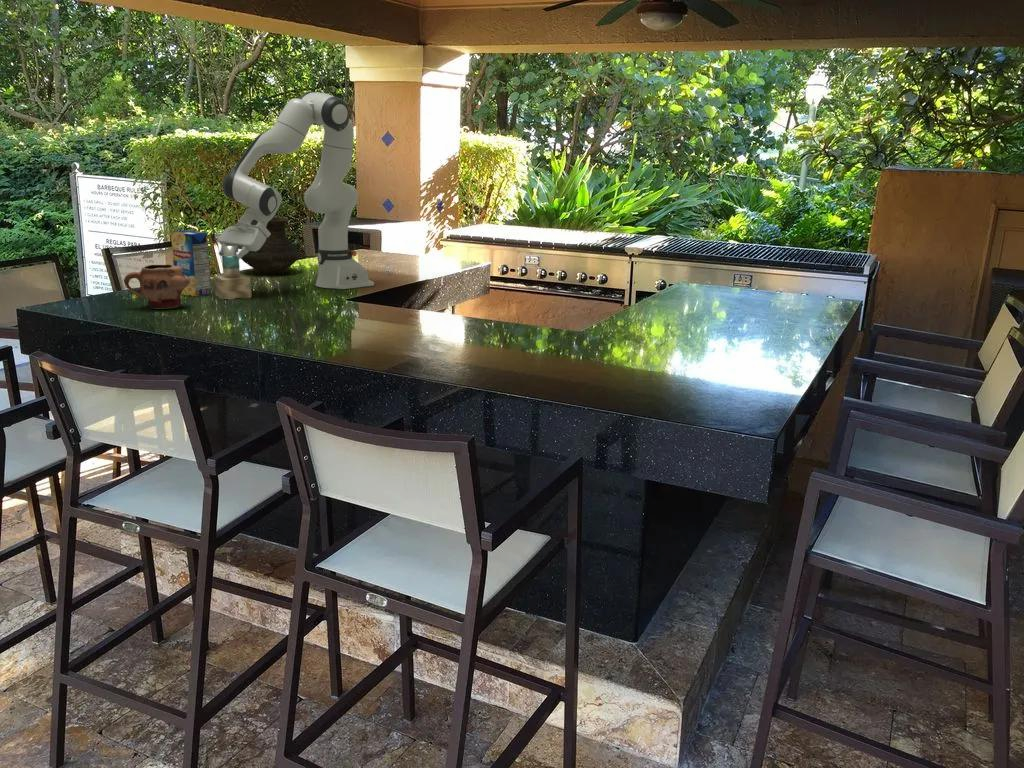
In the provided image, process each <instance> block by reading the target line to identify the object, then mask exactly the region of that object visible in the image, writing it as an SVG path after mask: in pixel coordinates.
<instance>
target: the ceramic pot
mask: <svg viewBox="0 0 1024 768" xmlns="http://www.w3.org/2000/svg"><path fill="white" fill-rule="evenodd" d="M288 221H289V219H288V218H286V217H279V216H273V218H272V219H271V220H270V221H269V222H268V223H267V226H266V228H267V230H268V231H269V232H270V233H271V234H270V236H269V237H268V238H266V241H265V242H264V244H263V245H262V247H261V248H260V249H259V250H257V251H249V252H248V253H247V254H245V255H244V256H243V257H242V258H241V259H240V260H242V261H243V263H245V264H247V265H248V266H249V267H251V268H252V269H253V270H254V271H256V272H258V273H259V274H262V275H277V274H281V273H282V272H285V271H286V270H288V268H290V267H291V266H293V265H294V264H295V263H296V262H297V260H299V259H300V257H301V253H300V251H299V250H298V248H297V247H296V246H295V245H294V244H293V242H292V241H290V239H289V238H288V237H287V233H286V223H287V222H288Z"/></svg>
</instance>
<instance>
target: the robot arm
mask: <svg viewBox="0 0 1024 768" xmlns="http://www.w3.org/2000/svg"><path fill="white" fill-rule="evenodd" d="M314 124H315V125H319V126H322V127H323V132H324V133H323V134H324V135H323V137H322V138H323V139H322V140H323V141H322V147H321V156H320V162H319V167H318V169H317V173H316V175H315V177H314V180H313V181H312V183H311V184H310V186H308V188H307V189H306V191H305V193H304V204H305V206H306V207H307V209H308V210H309V211H311V212H313V213H316V214H322V215H323V214H324V217H323V220H322V221H321V223H320V225H319V226H318V230H317V232H318V233H317V237H318V249H317V255H316V256H317V263H318V270H317V278H316V283H315V286H316V287H319V288H325V289H337V290H346V289H347V290H349V289H356V288H364V287H372V286H374V285H375V282H374V281H372V280H370V279H369V275H368V270H367V269H366V268H365V267H364V266H363V265H362V264H360V263H359V262H358V261H357V260H355V259H354V258H353V257H356V256H357V255H358V252H357V251H356V250H352V249H349V243H348V242H349V238H348V237H349V236H348V235H349V224H350V221H351V220H350V219H351V215H352V213H353V211H354V208H355V207H356V206H357V204H358V201H359V193H358V191H357V189H356V188H355V187H354V185H351V184H349V183H345V182H343V181H344V180H345V177H346V175H347V174H348V173H349V172H350V170H351V166H352V165H351V164H352V158H353V151H354V150H353V149H354V136H355V135H354V132H355V131H354V123H353V121H352V119H350V108H349V107H348V104H347V103H346V101H345V100H343V99H342V98H340V97H338V96H334V95H332V94H329V93H326V92H325V93H324V92H317V91H313V90H311V91H310V90H309V91H305V92H304V93H302V94H301V95H300V96H299V97H298V98H297V97H296V98H291V99H289V100H288V102H287V103H286V104H285V105H284V107H283V109H282V110H281V112H280V113H279V115H278V117H277V119H276V121H275V123H274V124H273V126H272V127H271V128H270V129H269V130H267V131H266V132H261V133H259V134H258V135H257V136H256V137H255V138H254V139H253V141H252V142H251V143H250V144H249V146H248V147H247V149H246V150H245V152H244V153H243V154H242V156H241V157H240V159H239V160H238V162H237V163H236V164H235V166H234V167H233V168H232V169H231V170H230V171H229V172H228V173H227V174H226V176H225V177H224V179H223V181H222V184H221V188H222V190H223V193H224V195H225V197H226V198H227V199H229V200H232V201H234V202H237V203H240V204H242V205H244V206H246V207H248V208H247V209H246V211H245V212H244V213H243V214H241V217H240V218H239V220H238V221H237V223H236V224H233V225H230V226H227V228H226V229H224V230H223V232H222V233H221V234H220V235H219V237H218V239H217V242H218V243H219V244H220V245H221V246H222V245H238V250H240V251H238V252H237V253H236V255H235V257H236V258H237V259H239V260H242V259H241V258H242V257H243V256H244V255H245V254H247V253H248V252H249V251H257V250H259V249H260V248H261V247H262V245H263V244H264V242H265V241H266V238H268V237H269V236H270V234H271V233H270V232H269V231H268V230H267V228H266V226H267V223H268V222H269V221H270V220H271V219H272V218H273V217H275V216H276V213H277V212H278V210H279V208H280V206H281V204H282V201H283V198H282V197H283V196H282V195H281V193H280V192H279V191H278V190H277V189H276V188H275V187H272V186H269V185H268V184H265V182H264V183H263V182H262V181H258V180H257V179H254V178H252V177H250V176H249V173H250V172H251V171H252V169H253V168H254V166H255V165H256V164H257V163H258V161H259V160H260V158H261V157H263V156H265V155H268V154H270V155H271V154H276V155H290V154H293V153H295V152H297V151H299V149H300V148H301V147H302V145H303V143H304V141H305V138H306V137H307V135H308V133H309V130H310V128H311V127H312V125H314ZM221 246H220V247H221ZM218 255H219V256H220V257H222V249H221V248H220V250H219V252H218Z"/></svg>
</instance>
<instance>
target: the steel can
mask: <svg viewBox="0 0 1024 768" xmlns="http://www.w3.org/2000/svg"><path fill="white" fill-rule="evenodd" d="M221 249H222V256H221V262H222V275H223V277H224V278H239V277H240V274H241V273H240V272H241V271H240V269H241V268H240V267H241V266H240V259H237V258H236V257H235V255H236V253H237V252H239V249H238V245H222V246H220V250H221Z"/></svg>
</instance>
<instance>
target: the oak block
mask: <svg viewBox="0 0 1024 768" xmlns="http://www.w3.org/2000/svg"><path fill="white" fill-rule="evenodd" d="M213 281H214V283H213V284H214V285H213V286H214V294H215V297H217V296H218V297H217V298H219V299H221V300H222V299H223V301H225V300H224V299H228V300H236V299H235V298H242V299H252V298H251V297H252V283H251V282H252V281H251V277H249V276H247V275H245V274H242V273H240V277H239V278H224V277H223V274H221V275H220V274H219V275H213Z"/></svg>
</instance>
